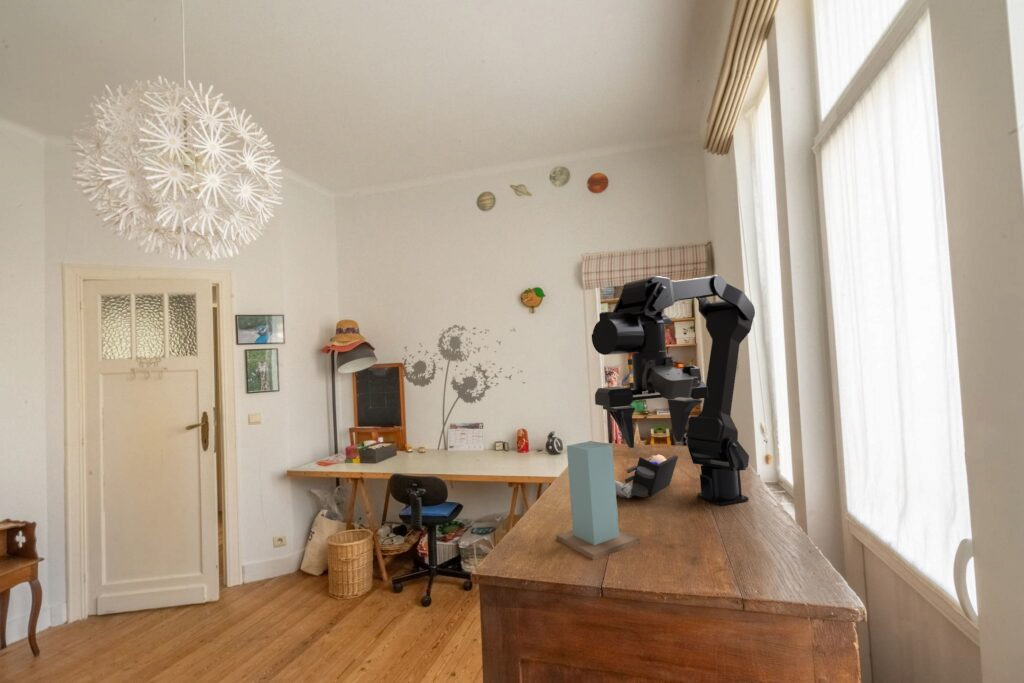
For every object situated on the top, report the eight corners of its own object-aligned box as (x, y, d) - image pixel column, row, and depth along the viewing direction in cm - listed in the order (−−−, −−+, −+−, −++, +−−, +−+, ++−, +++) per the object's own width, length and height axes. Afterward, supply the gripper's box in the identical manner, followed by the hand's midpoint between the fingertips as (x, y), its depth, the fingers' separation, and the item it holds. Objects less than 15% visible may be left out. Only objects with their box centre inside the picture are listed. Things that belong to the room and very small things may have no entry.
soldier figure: (622, 490, 97) (653, 486, 86) (612, 508, 94) (641, 507, 84) (595, 466, 97) (621, 460, 86) (584, 485, 95) (609, 480, 84)
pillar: (597, 527, 73) (590, 440, 73) (619, 536, 68) (612, 444, 69) (573, 535, 70) (566, 445, 71) (594, 545, 66) (587, 449, 66)
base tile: (599, 530, 75) (599, 521, 75) (639, 547, 67) (639, 537, 67) (556, 544, 70) (555, 534, 71) (594, 565, 63) (593, 554, 63)
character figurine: (620, 500, 88) (654, 482, 99) (654, 504, 83) (687, 484, 94) (615, 460, 89) (649, 446, 100) (649, 461, 84) (681, 447, 95)
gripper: (624, 354, 65) (632, 461, 65) (729, 347, 70) (736, 446, 70) (590, 355, 76) (596, 447, 75) (683, 349, 81) (689, 435, 81)
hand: (655, 444), depth 75 cm, fingers open, 9 cm apart
